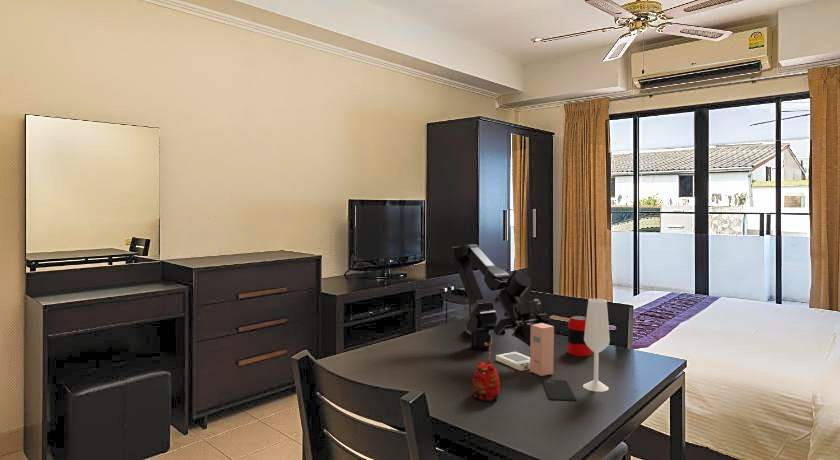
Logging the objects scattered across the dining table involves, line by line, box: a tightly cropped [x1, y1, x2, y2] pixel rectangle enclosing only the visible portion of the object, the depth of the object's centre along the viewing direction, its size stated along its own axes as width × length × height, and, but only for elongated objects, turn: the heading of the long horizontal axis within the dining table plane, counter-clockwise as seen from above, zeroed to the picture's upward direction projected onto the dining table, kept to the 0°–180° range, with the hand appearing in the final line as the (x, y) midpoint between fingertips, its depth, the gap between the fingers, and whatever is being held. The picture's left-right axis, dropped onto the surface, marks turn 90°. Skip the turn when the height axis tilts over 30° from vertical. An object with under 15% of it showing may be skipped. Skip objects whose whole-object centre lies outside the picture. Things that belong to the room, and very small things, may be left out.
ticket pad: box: [495, 351, 530, 372], centre depth 162 cm, size 12×8×2 cm, turn 29°
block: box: [529, 323, 555, 377], centre depth 152 cm, size 5×5×14 cm
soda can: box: [567, 315, 592, 357], centre depth 172 cm, size 8×8×12 cm
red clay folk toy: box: [471, 338, 501, 402], centre depth 133 cm, size 8×7×15 cm
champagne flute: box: [582, 298, 611, 393], centre depth 140 cm, size 7×7×24 cm
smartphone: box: [540, 379, 577, 402], centre depth 139 cm, size 7×1×15 cm
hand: (535, 348), depth 154 cm, fingers closed, pressing on block
